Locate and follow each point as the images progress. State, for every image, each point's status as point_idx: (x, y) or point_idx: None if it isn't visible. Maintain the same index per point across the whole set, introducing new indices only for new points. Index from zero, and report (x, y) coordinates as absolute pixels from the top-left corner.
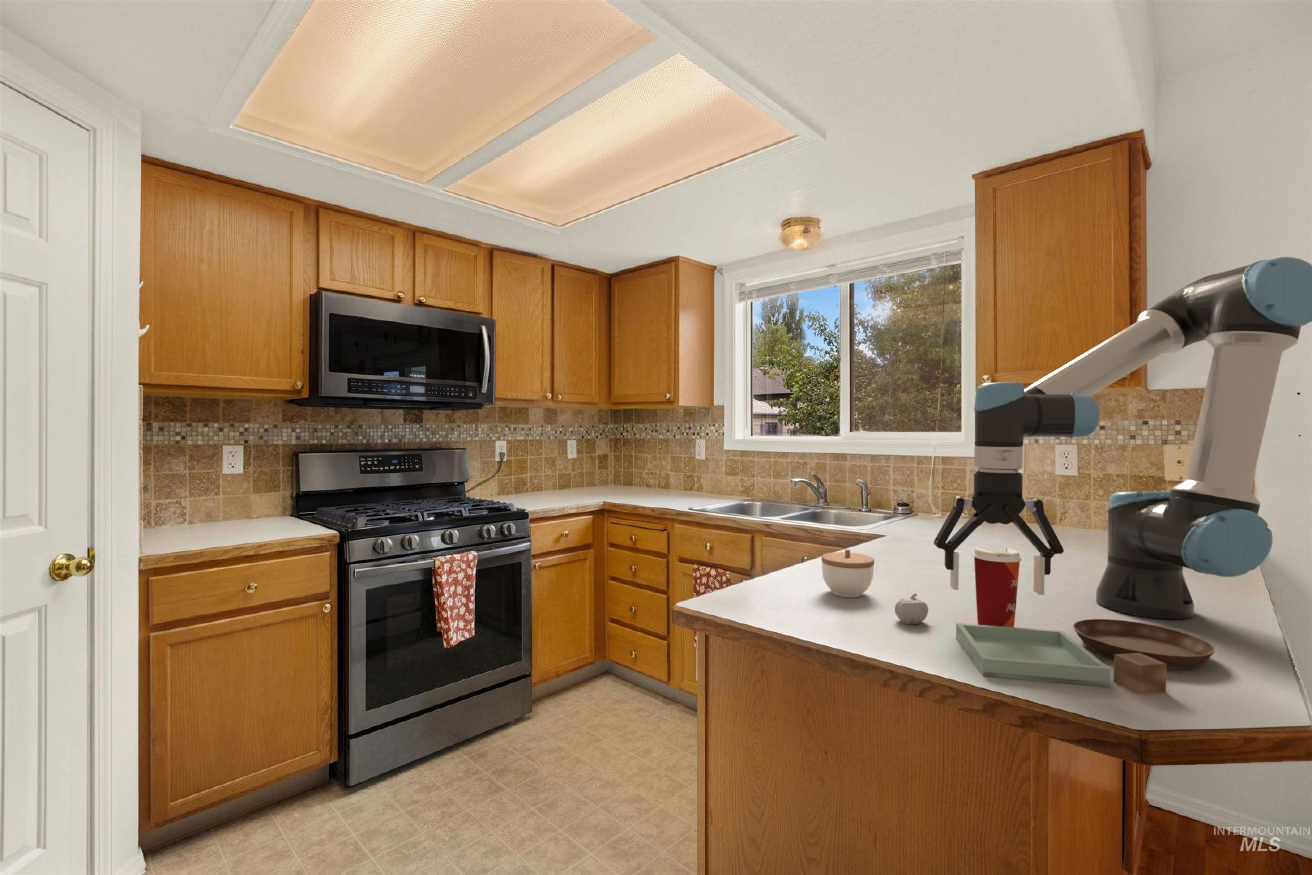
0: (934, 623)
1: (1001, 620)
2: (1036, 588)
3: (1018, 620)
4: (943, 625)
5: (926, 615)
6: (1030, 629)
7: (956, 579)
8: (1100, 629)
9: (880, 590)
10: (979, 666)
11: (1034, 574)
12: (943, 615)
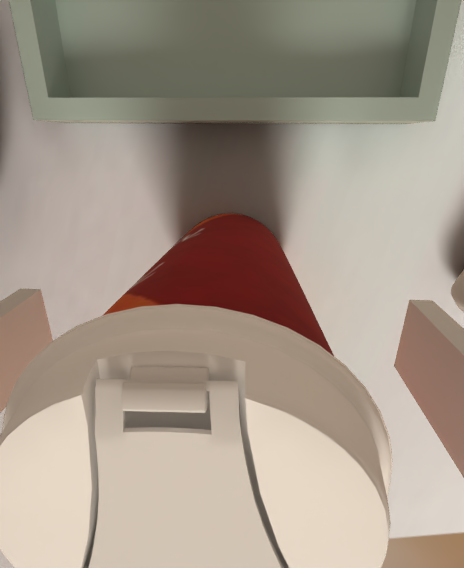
0: (416, 274)
1: (226, 219)
2: (36, 331)
3: None
4: (393, 259)
5: (458, 283)
6: (149, 105)
7: (449, 326)
8: None
9: (447, 529)
10: None
11: (2, 400)
12: (352, 356)
